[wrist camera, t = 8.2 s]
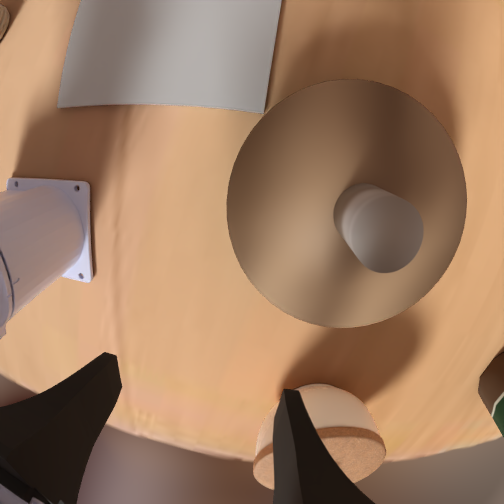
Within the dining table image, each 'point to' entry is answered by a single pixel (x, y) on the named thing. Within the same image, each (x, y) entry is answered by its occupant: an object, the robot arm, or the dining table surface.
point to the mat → (171, 53)
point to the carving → (3, 20)
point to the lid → (346, 203)
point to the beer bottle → (494, 390)
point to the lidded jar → (329, 433)
